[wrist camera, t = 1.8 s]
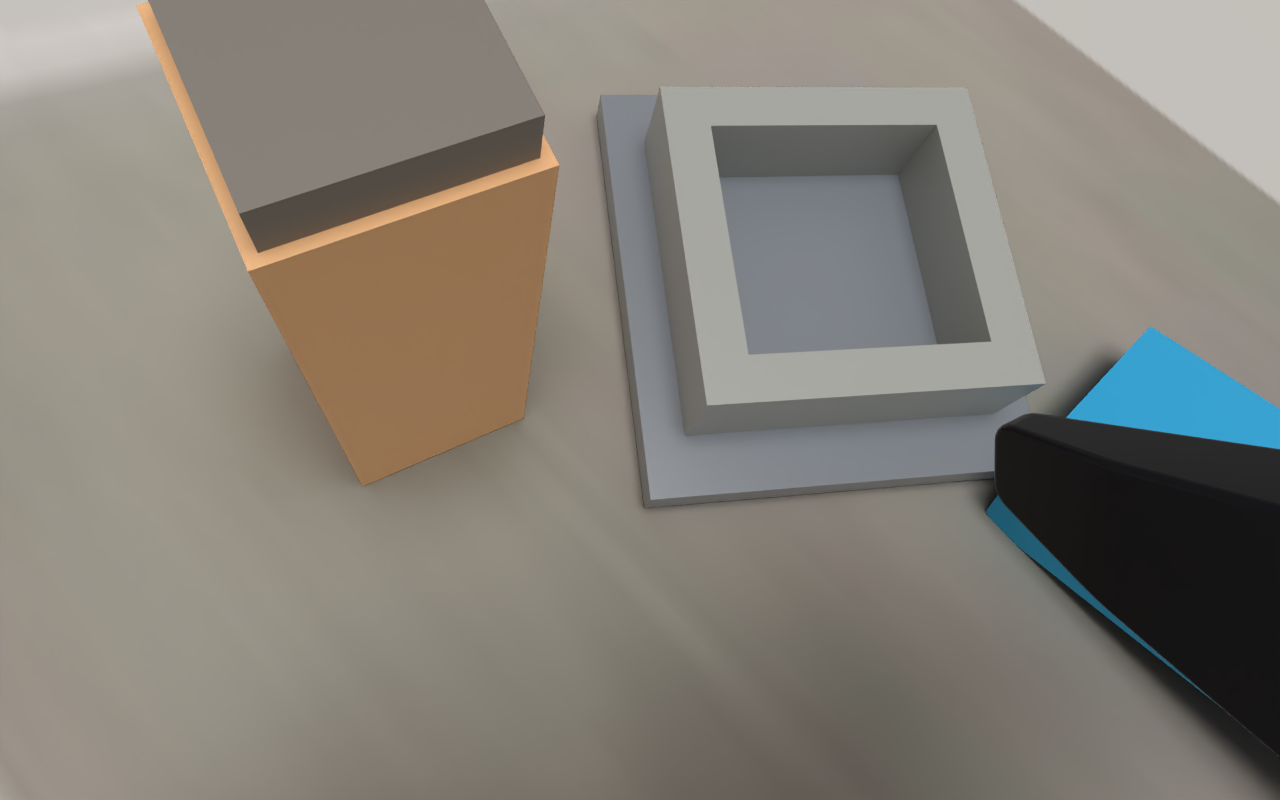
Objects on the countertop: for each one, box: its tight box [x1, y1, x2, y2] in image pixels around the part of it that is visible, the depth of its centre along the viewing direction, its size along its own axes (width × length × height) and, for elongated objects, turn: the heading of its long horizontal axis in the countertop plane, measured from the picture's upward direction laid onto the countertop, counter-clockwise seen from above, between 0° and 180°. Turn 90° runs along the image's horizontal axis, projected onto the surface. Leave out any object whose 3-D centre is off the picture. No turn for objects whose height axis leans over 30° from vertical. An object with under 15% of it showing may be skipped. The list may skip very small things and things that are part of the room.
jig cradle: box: [597, 87, 1046, 508], centre depth 25 cm, size 12×11×4 cm
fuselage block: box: [136, 0, 559, 486], centre depth 18 cm, size 4×4×13 cm
